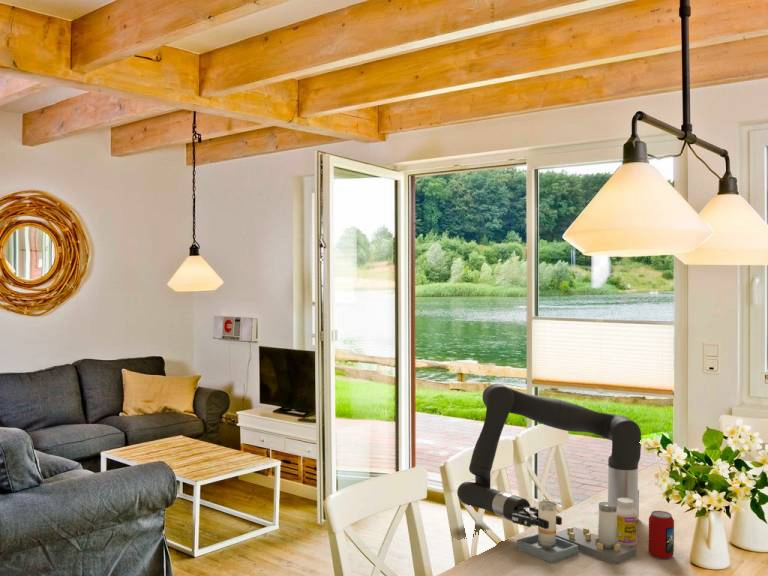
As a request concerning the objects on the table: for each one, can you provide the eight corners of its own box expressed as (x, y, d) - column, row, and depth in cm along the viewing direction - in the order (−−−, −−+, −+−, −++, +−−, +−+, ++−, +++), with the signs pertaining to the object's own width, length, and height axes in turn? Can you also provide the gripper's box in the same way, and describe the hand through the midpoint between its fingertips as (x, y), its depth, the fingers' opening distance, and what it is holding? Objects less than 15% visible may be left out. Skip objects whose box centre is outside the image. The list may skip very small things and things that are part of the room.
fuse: (605, 541, 212) (606, 500, 212) (620, 547, 208) (620, 505, 208) (594, 545, 209) (595, 504, 209) (609, 551, 205) (609, 508, 205)
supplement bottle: (623, 548, 213) (624, 504, 212) (608, 540, 219) (608, 498, 218) (641, 545, 215) (642, 501, 215) (625, 537, 221) (626, 495, 221)
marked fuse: (546, 540, 214) (546, 499, 213) (559, 545, 209) (560, 504, 209) (534, 544, 211) (534, 502, 210) (547, 549, 206) (548, 507, 206)
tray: (542, 540, 219) (542, 532, 219) (578, 554, 208) (578, 545, 208) (516, 548, 212) (516, 540, 212) (551, 563, 201) (551, 554, 201)
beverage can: (675, 561, 203) (676, 518, 203) (650, 559, 205) (650, 516, 204) (671, 552, 210) (671, 510, 210) (646, 550, 211) (647, 509, 211)
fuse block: (573, 533, 225) (573, 521, 225) (635, 555, 207) (636, 543, 207) (552, 540, 219) (552, 528, 219) (614, 564, 201) (614, 551, 201)
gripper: (494, 499, 217) (537, 515, 203) (527, 490, 225) (571, 505, 212) (493, 524, 217) (537, 541, 204) (527, 515, 226) (570, 531, 212)
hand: (554, 523), depth 208 cm, fingers closed on marked fuse, 5 cm apart
